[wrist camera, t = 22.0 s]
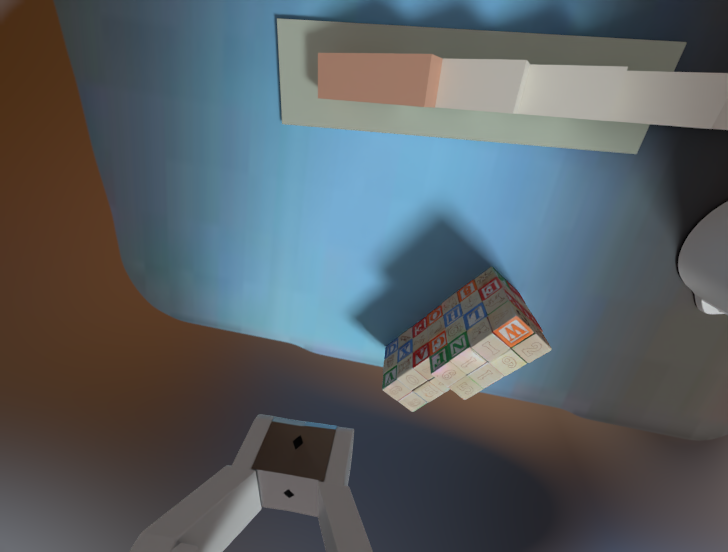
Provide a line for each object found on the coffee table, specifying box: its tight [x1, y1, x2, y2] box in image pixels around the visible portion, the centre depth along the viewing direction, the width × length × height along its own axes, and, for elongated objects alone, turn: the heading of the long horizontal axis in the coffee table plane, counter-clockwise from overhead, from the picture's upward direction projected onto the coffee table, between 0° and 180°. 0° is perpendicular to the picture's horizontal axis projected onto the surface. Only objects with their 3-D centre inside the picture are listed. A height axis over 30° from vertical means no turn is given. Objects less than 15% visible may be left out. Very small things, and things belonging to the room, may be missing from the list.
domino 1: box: [318, 53, 443, 108], centre depth 32 cm, size 3×4×12 cm
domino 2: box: [435, 59, 530, 114], centre depth 31 cm, size 3×4×12 cm
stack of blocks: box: [382, 267, 552, 412], centre depth 44 cm, size 21×6×12 cm, turn 138°
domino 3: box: [517, 64, 628, 121], centre depth 31 cm, size 3×4×12 cm
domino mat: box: [277, 18, 687, 154], centre depth 35 cm, size 40×10×1 cm, turn 86°
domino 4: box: [607, 71, 728, 129], centre depth 30 cm, size 3×4×12 cm
